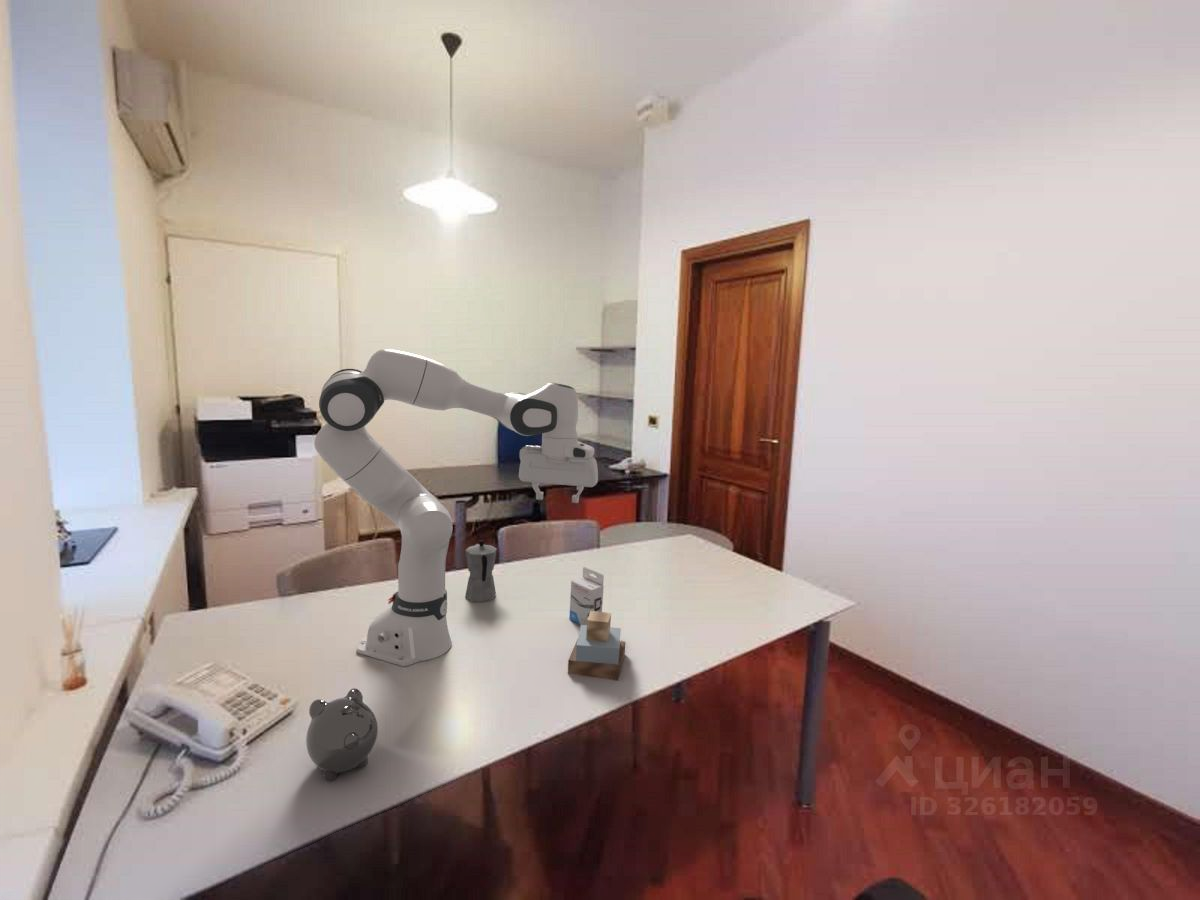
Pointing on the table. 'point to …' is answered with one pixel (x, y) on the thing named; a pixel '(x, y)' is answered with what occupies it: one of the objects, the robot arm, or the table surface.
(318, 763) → the piggy bank
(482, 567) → the coffeepot
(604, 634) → the oak block
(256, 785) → the table surface
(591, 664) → the tower base
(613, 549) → the table surface
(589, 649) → the tower top
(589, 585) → the ink box
